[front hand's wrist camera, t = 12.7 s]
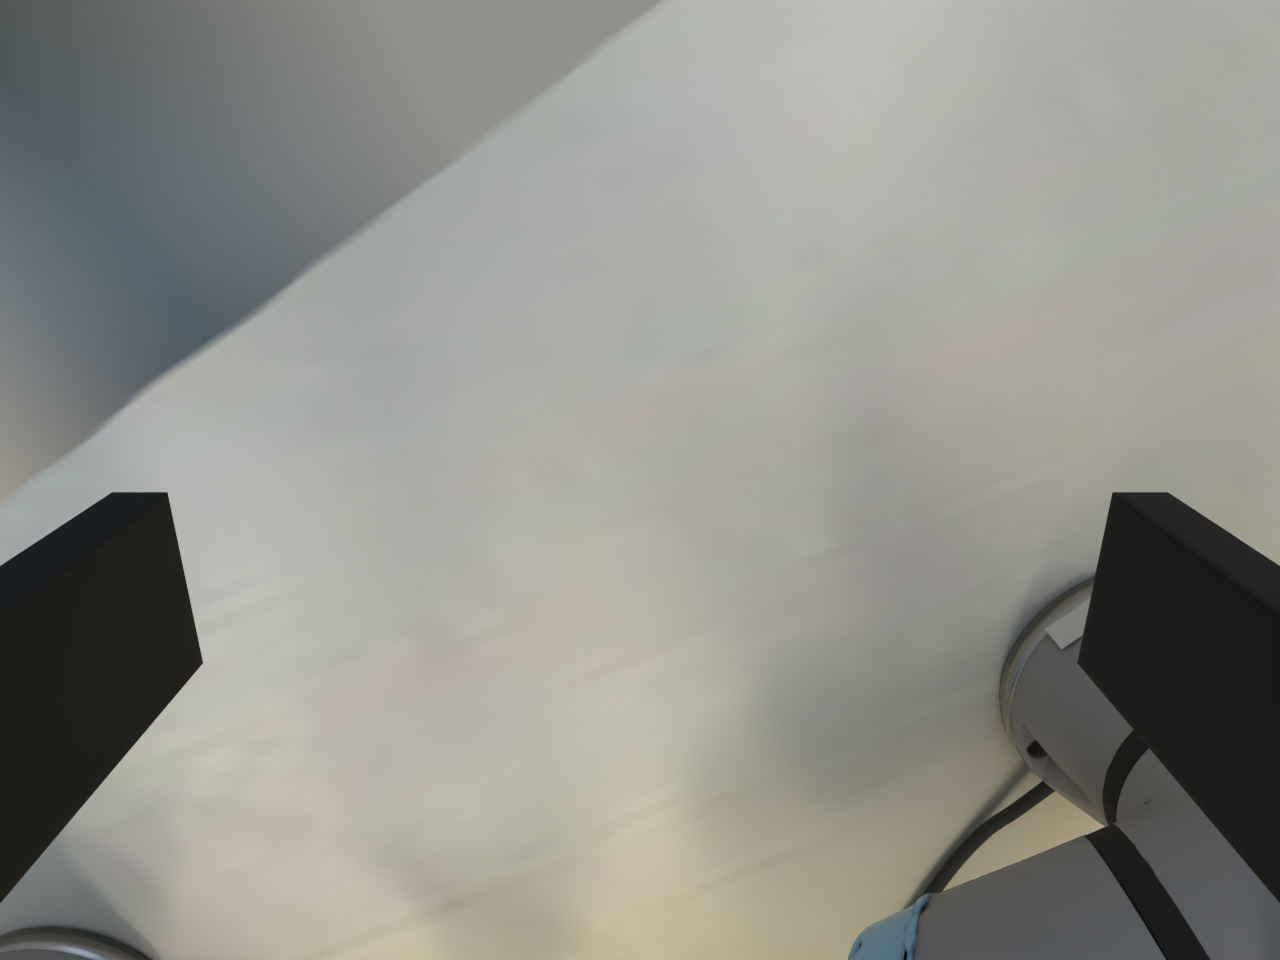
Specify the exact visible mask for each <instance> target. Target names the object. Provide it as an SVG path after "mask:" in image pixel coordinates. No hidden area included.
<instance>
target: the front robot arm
mask: <svg viewBox="0 0 1280 960" xmlns="http://www.w3.org/2000/svg"><path fill="white" fill-rule="evenodd" d="M202 663H203V661H202V656H201V651H200V647H199V642H198V637H197V632H196V627H195V623H194V618H193V613H192V608H191V604H190V599H189V594H188V589H187V584H186V580H185V575H184V570H183V565H182V560H181V556H180V551H179V546H178V541H177V536H176V532H175V527H174V522H173V517H172V512H171V508H170V503H169V498H168V493H167V492H112V493H111V494H109V495H108V496H106V497H105V498H103V499H101V500H100V501H98V502H97V503H95V504H94V505H92V506H91V507H89V508H88V509H86V510H85V511H83V512H82V513H80V514H79V515H77V516H76V517H74V518H73V519H71V520H70V521H68V522H67V523H65V524H63V525H62V526H60V527H59V528H57V529H56V530H54V531H53V532H51V533H50V534H48V535H47V536H45V537H44V538H42V539H41V540H39V541H38V542H36V543H35V544H33V545H32V546H30V547H29V548H27V549H26V550H24V551H22V552H21V553H19V554H18V555H16V556H15V557H13V558H12V559H10V560H9V561H7V562H6V563H4V564H3V565H1V566H0V903H1V902H2V900H3V899H4V898H5V897H6V896H7V895H8V893H9V892H10V891H11V890H12V889H13V887H14V886H15V885H16V884H17V883H18V881H19V880H20V879H21V878H22V877H23V876H24V874H25V873H26V872H27V871H28V870H29V868H30V867H31V866H32V865H33V864H34V863H35V861H36V860H37V859H38V858H39V857H40V855H41V854H42V853H43V852H44V851H45V849H46V848H47V847H48V846H49V845H50V844H51V842H52V841H53V840H54V839H55V838H56V836H57V835H58V834H59V833H60V832H61V831H62V829H63V828H64V827H65V826H66V825H67V823H68V822H69V821H70V820H71V819H72V818H73V816H74V815H75V814H76V813H77V812H78V810H79V809H80V808H81V807H82V806H83V804H84V803H85V802H86V801H87V800H88V799H89V797H90V796H91V795H92V794H93V793H94V791H95V790H96V789H97V788H98V787H99V786H100V784H101V783H102V782H103V781H104V780H105V778H106V777H107V776H108V775H109V774H110V772H111V771H112V770H113V769H114V768H115V767H116V765H117V764H118V763H119V762H120V761H121V759H122V758H123V757H124V756H125V755H126V754H127V752H128V751H129V750H130V749H131V748H132V746H133V745H134V744H135V743H136V742H137V740H138V739H139V738H140V737H141V736H142V735H143V733H144V732H145V731H146V730H147V729H148V727H149V726H150V725H151V724H152V723H153V722H154V720H155V719H156V718H157V717H158V716H159V714H160V713H161V712H162V711H163V710H164V708H165V707H166V706H167V705H168V704H169V703H170V701H171V700H172V699H173V698H174V697H175V695H176V694H177V693H178V692H179V691H180V690H181V688H182V687H183V686H184V685H185V684H186V682H187V681H188V680H189V679H190V678H191V677H192V675H193V674H194V673H195V672H196V671H197V669H198V668H199V667H200V666H201V665H202ZM1000 709H1001V714H1002V719H1003V722H1004V725H1005V728H1006V730H1007V733H1008V735H1009V737H1010V739H1011V740H1012V742H1013V743H1014V745H1015V747H1016V748H1017V750H1018V751H1019V753H1020V755H1021V756H1022V758H1023V759H1024V761H1025V763H1026V764H1027V765H1028V766H1029V768H1030V769H1031V770H1032V771H1033V772H1034V773H1035V774H1036V775H1037V776H1038V777H1039V778H1040V779H1041V780H1043V781H1042V782H1041V783H1039V784H1038V785H1037V786H1035V787H1034V788H1033V789H1031V790H1030V791H1029V792H1027V793H1026V794H1025V795H1023V796H1022V797H1021V798H1019V799H1018V800H1017V801H1015V802H1014V803H1013V804H1011V805H1010V806H1008V807H1007V808H1005V809H1004V810H1002V811H1000V812H999V813H997V814H996V815H994V816H993V817H991V818H990V819H988V820H987V821H986V822H984V823H983V824H982V825H981V826H980V827H979V828H978V829H976V830H975V831H974V832H973V833H972V834H971V835H970V836H969V837H968V838H967V839H966V840H965V841H964V842H963V844H962V845H961V846H960V847H959V848H958V849H957V850H956V851H955V852H954V854H953V855H952V856H951V857H950V858H949V860H948V861H947V862H946V863H945V865H944V866H943V867H942V869H941V870H940V871H939V872H938V874H937V875H936V877H935V878H934V879H933V881H932V882H931V884H930V885H929V886H928V888H927V889H926V891H925V892H924V893H923V895H922V896H921V897H920V898H919V899H918V900H917V901H916V902H915V904H914V905H912V906H910V907H908V908H906V909H904V910H902V911H900V912H898V913H896V914H894V915H891V916H889V917H887V918H885V919H883V920H881V921H879V922H876V923H874V924H872V925H870V926H869V927H867V928H866V929H865V930H864V931H862V932H861V933H860V935H859V936H858V937H857V939H856V940H855V942H854V944H853V946H852V949H851V952H850V954H849V957H848V960H1280V566H1279V565H1277V564H1276V563H1274V562H1273V561H1271V560H1270V559H1268V558H1267V557H1265V556H1264V555H1262V554H1261V553H1259V552H1258V551H1256V550H1254V549H1253V548H1251V547H1250V546H1248V545H1247V544H1245V543H1244V542H1242V541H1241V540H1239V539H1238V538H1236V537H1235V536H1233V535H1232V534H1230V533H1229V532H1227V531H1226V530H1224V529H1223V528H1221V527H1220V526H1218V525H1217V524H1215V523H1213V522H1212V521H1210V520H1209V519H1207V518H1206V517H1204V516H1203V515H1201V514H1200V513H1198V512H1197V511H1195V510H1194V509H1192V508H1191V507H1189V506H1188V505H1186V504H1185V503H1183V502H1182V501H1180V500H1179V499H1177V498H1175V497H1174V496H1172V495H1171V494H1169V493H1168V492H1113V493H1112V498H1111V503H1110V508H1109V512H1108V517H1107V522H1106V527H1105V532H1104V536H1103V541H1102V546H1101V551H1100V556H1099V560H1098V565H1097V570H1096V575H1095V577H1094V578H1092V579H1090V580H1087V581H1085V582H1083V583H1081V584H1080V585H1078V586H1076V587H1074V588H1072V589H1071V590H1069V591H1067V592H1066V593H1064V594H1063V595H1061V596H1060V597H1058V598H1057V599H1056V600H1054V601H1053V602H1052V603H1050V604H1049V605H1048V606H1047V607H1046V608H1045V609H1044V610H1043V611H1041V612H1040V613H1039V614H1038V615H1037V616H1036V617H1035V619H1034V620H1033V621H1032V622H1031V623H1030V624H1029V625H1028V627H1027V628H1026V629H1025V630H1024V632H1023V633H1022V634H1021V636H1020V637H1019V639H1018V640H1017V642H1016V644H1015V645H1014V647H1013V649H1012V651H1011V653H1010V655H1009V658H1008V660H1007V663H1006V665H1005V668H1004V672H1003V675H1002V681H1001V686H1000ZM1054 791H1056V792H1058V793H1059V794H1060V795H1062V796H1063V797H1065V798H1066V799H1067V800H1069V801H1070V802H1072V803H1073V804H1074V805H1076V806H1077V807H1078V808H1080V809H1081V810H1083V811H1084V812H1085V813H1087V814H1088V815H1090V816H1091V817H1092V818H1094V819H1095V820H1097V821H1098V822H1099V823H1101V824H1102V825H1104V826H1105V828H1102V829H1100V830H1097V831H1095V832H1092V833H1090V834H1088V835H1084V836H1081V837H1078V838H1076V839H1074V840H1071V841H1069V842H1066V843H1064V844H1061V845H1059V846H1056V847H1054V848H1052V849H1049V850H1047V851H1044V852H1042V853H1039V854H1037V855H1034V856H1032V857H1030V858H1027V859H1025V860H1022V861H1020V862H1017V863H1015V864H1012V865H1010V866H1007V867H1004V868H1002V869H999V870H997V871H994V872H992V873H989V874H986V875H984V876H981V877H979V878H976V879H974V880H971V881H968V882H966V883H963V884H961V885H958V886H956V887H953V888H950V889H948V890H945V891H943V889H944V888H945V887H946V885H947V884H948V883H949V881H950V880H951V879H952V877H953V876H954V875H955V873H956V872H957V871H958V870H959V869H960V867H961V866H962V865H963V864H964V863H965V862H966V860H967V859H968V858H969V857H970V856H971V855H972V854H973V853H974V852H975V851H976V850H977V849H978V848H979V847H980V846H981V845H982V844H983V843H984V842H985V841H986V840H987V839H988V838H989V837H990V836H992V835H993V834H994V833H995V832H997V831H998V830H999V829H1001V828H1002V827H1004V826H1006V825H1007V824H1009V823H1010V822H1012V821H1014V820H1015V819H1017V818H1018V817H1020V816H1021V815H1023V814H1024V813H1025V812H1027V811H1028V810H1030V809H1031V808H1032V807H1034V806H1035V805H1036V804H1038V803H1039V802H1041V801H1042V800H1043V799H1045V798H1046V797H1047V796H1049V795H1050V794H1051V793H1053V792H1054ZM942 891H943V892H942Z"/></svg>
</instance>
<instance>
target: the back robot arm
mask: <svg viewBox="0 0 1280 960" xmlns="http://www.w3.org/2000/svg"><path fill="white" fill-rule="evenodd" d="M0 960H148V959H147V958H145V957H144V956H142V955H141V954H139V953H138V952H136V951H134V950H132V949H131V948H129V947H127V946H125V945H123V944H121V943H119V942H116V941H114V940H111V939H109V938H106V937H103V936H100V935H97V934H93V933H89V932H85V931H80V930H75V929H67V928H54V927H43V928H31V929H24V930H19V931H15V932H12V933H8V934H5V935H3V936H0Z"/></svg>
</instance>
